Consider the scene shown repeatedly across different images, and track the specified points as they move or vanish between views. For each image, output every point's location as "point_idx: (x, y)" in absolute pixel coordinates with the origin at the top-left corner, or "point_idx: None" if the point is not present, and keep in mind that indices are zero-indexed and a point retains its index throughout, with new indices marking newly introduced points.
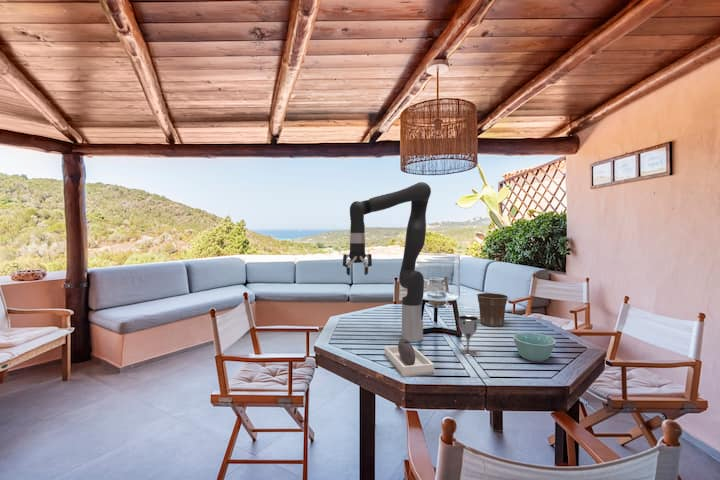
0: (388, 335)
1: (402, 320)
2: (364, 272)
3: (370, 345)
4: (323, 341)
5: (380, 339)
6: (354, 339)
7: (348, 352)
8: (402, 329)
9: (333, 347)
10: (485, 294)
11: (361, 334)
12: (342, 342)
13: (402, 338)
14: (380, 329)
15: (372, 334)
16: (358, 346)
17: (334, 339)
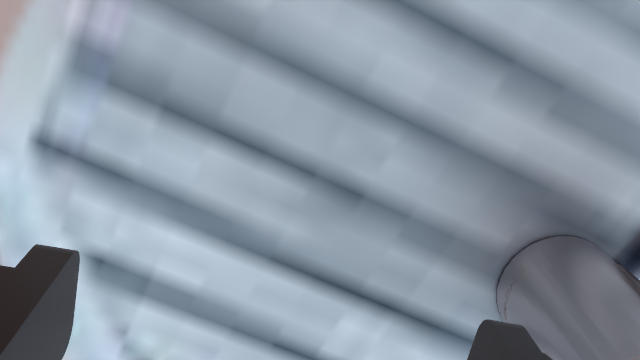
0: (482, 162)
1: (550, 350)
2: (499, 351)
3: (273, 281)
4: (5, 88)
5: (387, 212)
6: (229, 141)
7: (107, 329)
8: (523, 314)
9: (44, 225)
10: None
11: (324, 59)
12: (129, 163)
13: (501, 284)
14: (520, 7)
15: (397, 94)
16: (198, 269)
17: (94, 80)
